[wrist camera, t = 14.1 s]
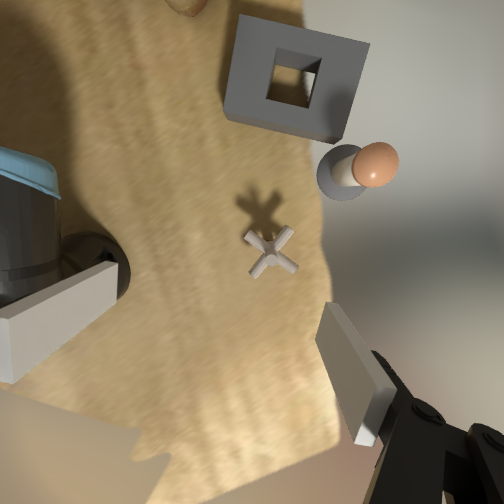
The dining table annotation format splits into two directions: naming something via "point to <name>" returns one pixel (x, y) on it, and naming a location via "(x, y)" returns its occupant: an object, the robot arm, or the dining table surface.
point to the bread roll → (187, 6)
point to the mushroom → (367, 167)
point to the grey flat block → (301, 58)
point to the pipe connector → (271, 251)
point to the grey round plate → (325, 174)
